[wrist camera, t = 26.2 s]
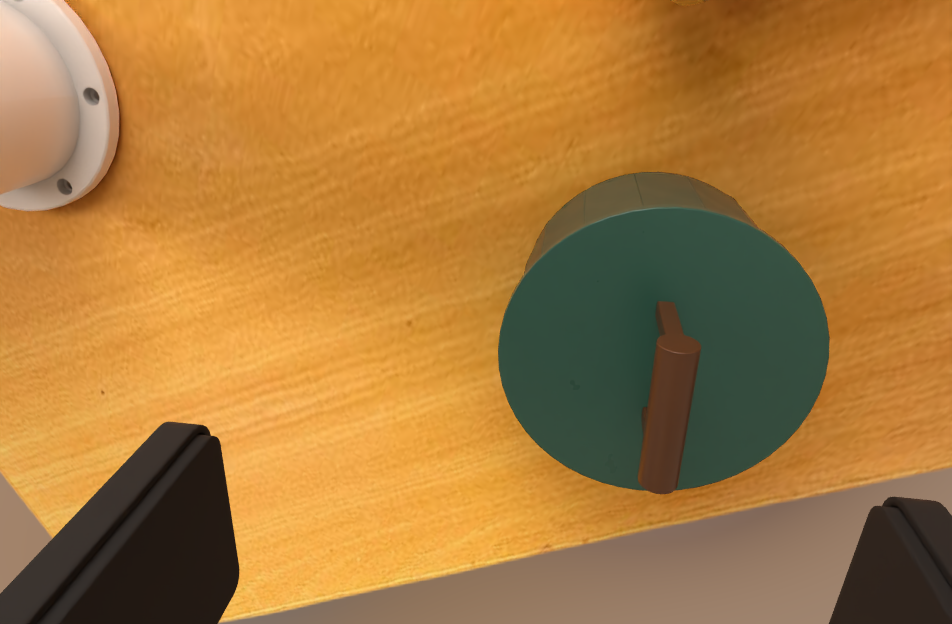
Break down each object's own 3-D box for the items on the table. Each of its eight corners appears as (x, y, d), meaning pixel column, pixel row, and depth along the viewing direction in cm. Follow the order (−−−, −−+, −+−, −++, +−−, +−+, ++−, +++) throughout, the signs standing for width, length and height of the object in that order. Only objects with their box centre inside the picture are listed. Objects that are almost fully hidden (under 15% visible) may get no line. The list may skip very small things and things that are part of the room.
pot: (521, 381, 39) (508, 461, 32) (531, 166, 34) (517, 207, 27) (745, 400, 37) (781, 488, 31) (792, 177, 32) (848, 225, 25)
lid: (496, 461, 33) (480, 549, 28) (505, 191, 27) (486, 236, 22) (785, 490, 31) (825, 589, 26) (857, 208, 26) (927, 262, 20)
